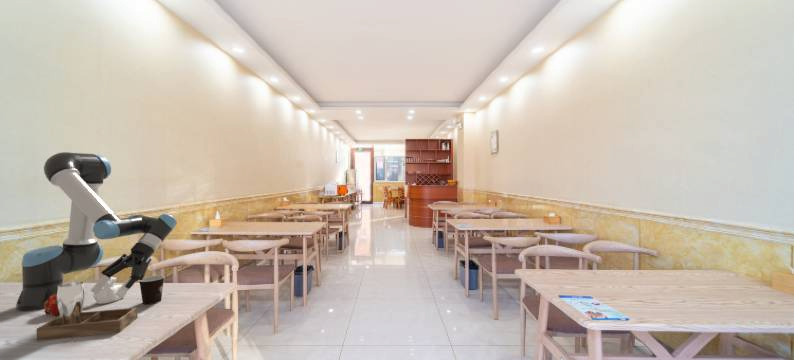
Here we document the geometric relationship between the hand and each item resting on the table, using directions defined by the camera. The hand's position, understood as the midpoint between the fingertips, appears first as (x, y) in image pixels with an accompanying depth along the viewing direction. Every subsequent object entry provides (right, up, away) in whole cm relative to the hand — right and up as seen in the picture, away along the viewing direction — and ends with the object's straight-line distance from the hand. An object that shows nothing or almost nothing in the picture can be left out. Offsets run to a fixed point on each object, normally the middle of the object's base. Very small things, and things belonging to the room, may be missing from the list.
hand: (105, 294), depth 125 cm
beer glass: (-3, -8, -10) cm, 13 cm away
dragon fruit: (-22, -9, +5) cm, 24 cm away
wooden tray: (+2, -9, -9) cm, 13 cm away
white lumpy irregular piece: (-14, -9, +18) cm, 25 cm away
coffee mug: (+5, -9, +18) cm, 21 cm away
